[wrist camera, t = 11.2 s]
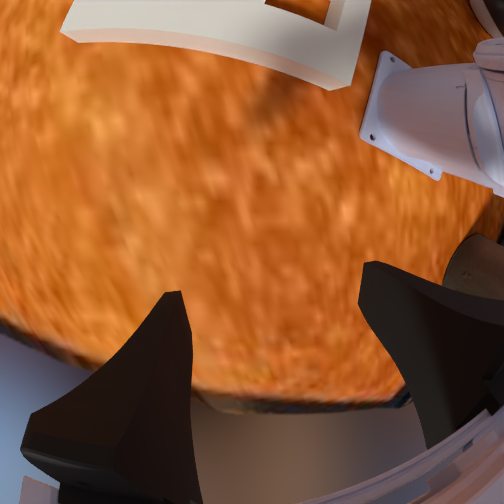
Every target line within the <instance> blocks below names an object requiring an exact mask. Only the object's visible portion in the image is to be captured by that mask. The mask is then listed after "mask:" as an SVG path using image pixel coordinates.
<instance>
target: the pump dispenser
mask: <svg viewBox="0 0 504 504" xmlns="http://www.w3.org/2000/svg"><path fill="white" fill-rule="evenodd" d="M469 1H470V5H471V7H472V10H473V12H474V14H475V16H476V17H477V19H478V21H479V22H480V24H481V25H482V26H483V28H484V29H485V30H486V31H487V32H488V33H489V34H490V35H491V36H492V37H493V38H500V37H504V0H469Z"/></svg>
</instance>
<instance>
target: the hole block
mask: <svg viewBox="0 0 504 504" xmlns="http://www.w3.org/2000/svg"><path fill="white" fill-rule="evenodd" d="M329 1H331V2H330V5H329V9H328V12H327V15H326V19H325V22H324V25H321V24H319V23H317V22H314V21H312V20H310V19H307V18H304V17H302V16H299V15H297V14H294V13H291V12H288V11H285V10H282V9H279V8H276V7H273V6H270V5H266V4H264V3H265V0H74V2H73V4H72V6H71V8H70V10H69V12H68V14H67V16H66V19H65V21H64V23H63V25H62V27H61V30H60V32H61V33H63V34H64V35H66V36H68V37H69V38H71V39H73V40H75V41H76V42H78V43H85V42H128V43H144V44H155V45H165V46H173V47H180V48H186V49H192V50H198V51H204V52H209V53H214V54H218V55H223V56H227V57H231V58H235V59H239V60H243V61H247V62H250V63H254V64H257V65H261V66H264V67H267V68H270V69H273V70H277V71H280V72H282V73H285V74H288V75H291V76H294V77H296V78H299V79H302V80H304V81H307V82H310V83H312V84H314V85H317V86H319V87H322V88H324V89H326V90H329V91H331V90H335V89H338V88H342V87H346V86H350V85H351V82H352V78H353V74H354V71H355V67H356V63H357V59H358V55H359V51H360V47H361V43H362V39H363V35H364V31H365V27H366V22H367V18H368V14H369V9H370V4H371V0H329Z"/></svg>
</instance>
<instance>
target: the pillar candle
mask: <svg viewBox="0 0 504 504" xmlns="http://www.w3.org/2000/svg"><path fill="white" fill-rule="evenodd" d="M442 286H443V287H446V288H449V289H452V290H456V291H459V292H463V293H466V294H470V295H475V296H479V297H484V298H490V299H497V300H504V247H503V246H501V245H499V244H497V243H496V242H495V241H493V240H491V239H489V238H487V237H486V236H484V235H481V234H474V235H472V236H471V237H469V238H468V239H467V240H465V241H464V242H463V243H462V244H461V245H460V247H459V248H458V249H457V251H456V252H455V254H454V255H453V257H452V259H451V261H450V263H449V266H448V268H447V271H446V274H445V277H444V280H443V284H442Z"/></svg>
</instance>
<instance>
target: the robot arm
mask: <svg viewBox="0 0 504 504" xmlns="http://www.w3.org/2000/svg"><path fill="white" fill-rule="evenodd" d="M473 57H474V60H475V62H476V63H460V64H448V65H438V66H429V67H421V68H415V69H413V68H412V67H410V66H409V65H408V64H406V63H405V62H403V61H402V60H400V59H399V58H397V57H396V56H394V55H393V54H391V53H390V52H388V51H382V52H381V53H380V56H379V60H378V65H377V69H376V73H375V77H374V81H373V85H372V89H371V93H370V96H369V100H368V104H367V108H366V111H365V115H364V118H363V122H362V125H361V129H360V132H359V135H360V138H361V139H362V140H363V141H365V142H367V143H369V144H371V145H373V146H375V147H377V148H379V149H381V150H383V151H385V152H387V153H389V154H391V155H393V156H395V157H396V158H398V159H400V160H402V161H404V162H405V163H407V164H409V165H411V166H412V167H414V168H416V169H418V170H419V171H421V172H423V173H424V174H426V175H427V176H429V177H431V178H432V179H434V180H437V181H438V180H440V178H441V175H442V172H446V173H449V174H452V175H455V176H458V177H461V178H464V179H467V180H470V181H472V182H475V183H478V184H480V185H483V186H486V187H490V188H493V193H494V194H496V195H498V196H501V197H503V198H504V37H500V38H493V39H488V40H484V41H481V42H479V43H478V44H477V47H476V50H475V51H474V52H473ZM390 58H391V59H392V61H391V60H390ZM371 134H372V136H373V139H372V140H371V139H370V135H371ZM430 169H431V171H430ZM358 305H359V308H360V310H361V312H362V314H363V316H364V317H365V319H366V321H367V323H368V324H369V326H370V327H371V329H372V330H373V332H374V333H375V335H376V336H377V337H378V339H379V340H380V342H381V343H382V344H383V346H384V347H385V349H386V350H387V352H388V353H389V355H390V356H391V357H392V359H393V360H394V362H395V364H396V365H397V367H398V369H399V371H400V373H401V375H402V377H403V379H404V381H405V383H406V385H407V387H408V390H409V392H410V394H411V397H412V399H413V402H414V404H415V407H416V410H417V413H418V416H419V419H420V422H421V426H422V430H423V434H424V438H425V442H426V447H427V449H428V450H427V451H425V452H424V453H422V454H421V455H419V456H417V457H415V458H413V459H412V460H410V461H408V462H406V463H404V464H402V465H400V466H398V467H396V468H394V469H392V470H390V471H388V472H386V473H384V474H381V475H379V476H377V477H374V478H372V479H370V480H367V481H365V482H362V483H360V484H357V485H355V486H352V487H349V488H347V489H344V490H341V491H338V492H335V493H332V494H329V495H325V496H322V497H319V498H315V499H312V500H307V501H303V502H300V503H295V504H365V503H367V502H369V501H372V500H374V499H376V498H379V497H381V496H383V495H385V494H387V493H389V492H391V491H393V490H395V489H397V488H399V487H401V486H403V485H405V484H407V483H409V482H410V481H412V480H414V479H416V478H418V477H419V476H421V475H423V474H424V473H426V472H428V471H429V470H431V469H433V468H434V467H436V466H437V465H439V464H440V463H442V462H443V461H445V460H446V459H448V458H449V457H451V456H452V455H453V454H455V453H456V452H457V451H459V450H460V449H461V448H463V447H464V448H463V454H461V455H460V456H459V457H458V458H456V459H455V460H454V461H453V462H451V463H450V464H449V465H447V466H446V467H445V468H443V469H442V470H441V471H439V472H438V473H436V474H435V475H434V476H432V477H430V478H429V479H428V480H427V484H428V486H429V488H430V491H428V492H427V493H425V494H423V495H422V496H420V497H418V498H417V499H415V500H413V501H411V502H409V503H408V504H504V300H497V299H490V298H484V297H479V296H475V295H470V294H466V293H463V292H459V291H456V290H452V289H449V288H446V287H443V286H441V285H438V284H435V283H433V282H430V281H428V280H425V279H423V278H420V277H418V276H415V275H413V274H411V273H408V272H406V271H403V270H401V269H399V268H396V267H394V266H391V265H388V264H386V263H383V262H379V261H371V262H366V263H364V265H363V273H362V280H361V286H360V293H359V299H358ZM192 363H193V345H192V331H191V328H190V324H189V321H188V317H187V313H186V309H185V305H184V301H183V297H182V293H181V291H173V292H165V293H164V294H163V295H162V297H161V298H160V299H159V301H158V302H157V303H156V305H155V306H154V308H153V309H152V310H151V312H150V313H149V314H148V316H147V317H146V318H145V320H144V321H143V322H142V324H141V325H140V326H139V328H138V329H137V330H136V331H135V332H134V333H133V335H132V336H131V337H130V338H129V339H128V341H127V342H126V343H125V344H124V345H123V346H122V347H121V348H120V350H119V351H118V352H117V353H116V354H115V355H114V356H113V357H112V358H111V359H110V360H109V361H108V362H106V363H105V364H104V365H103V366H102V367H101V368H100V369H98V370H97V371H96V372H95V373H94V374H92V375H91V376H90V377H89V378H88V379H87V380H85V381H84V382H83V383H81V384H80V385H79V386H77V387H76V388H74V389H73V390H72V391H70V392H69V393H67V394H66V395H64V396H63V397H61V398H59V399H58V400H56V401H54V402H53V403H51V404H49V405H47V406H45V407H43V408H42V409H40V410H38V411H36V412H34V413H32V414H31V415H30V418H29V421H28V424H27V428H26V430H25V434H24V437H23V440H22V444H21V447H20V450H21V453H22V454H23V456H24V457H25V458H26V459H27V460H28V461H29V462H30V463H31V464H33V465H34V466H36V467H37V468H38V469H40V470H41V471H43V472H44V473H46V474H47V475H49V476H50V477H52V478H54V479H55V480H57V481H59V482H60V488H59V490H58V489H56V488H54V487H52V486H49V485H47V484H44V483H42V482H39V481H37V480H34V479H32V478H29V477H27V476H24V478H23V483H22V489H21V496H20V503H19V504H203V501H202V496H201V492H200V487H199V481H198V475H197V470H196V463H195V457H194V448H193V440H192V430H191V419H190V397H191V379H192Z"/></svg>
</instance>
